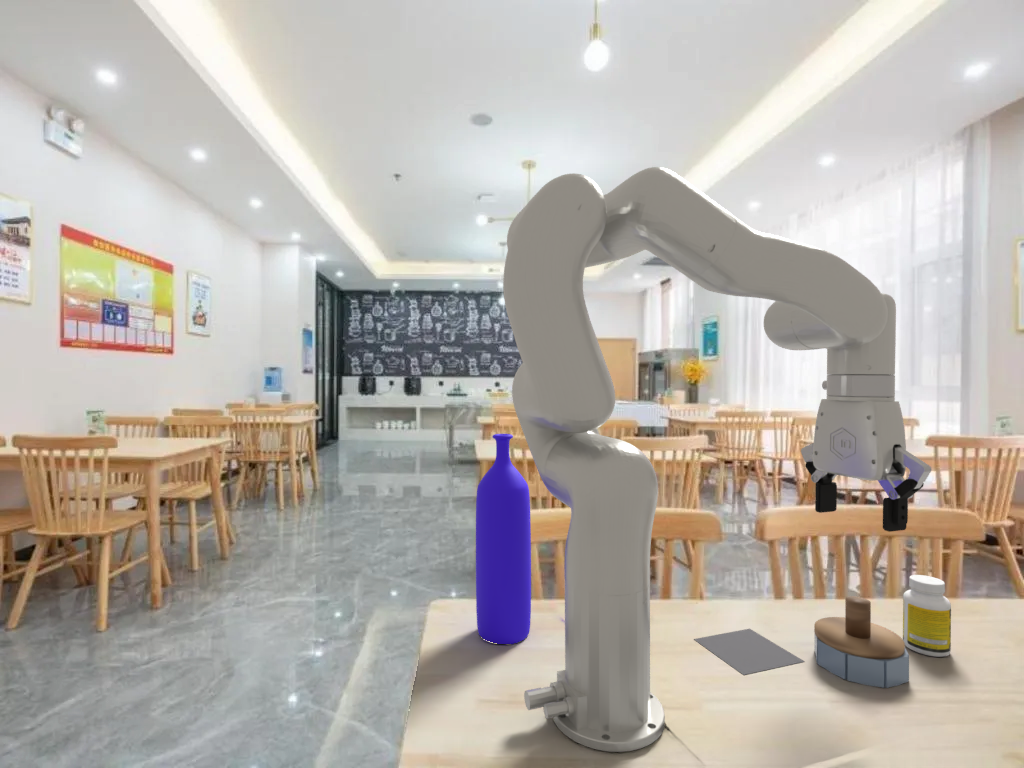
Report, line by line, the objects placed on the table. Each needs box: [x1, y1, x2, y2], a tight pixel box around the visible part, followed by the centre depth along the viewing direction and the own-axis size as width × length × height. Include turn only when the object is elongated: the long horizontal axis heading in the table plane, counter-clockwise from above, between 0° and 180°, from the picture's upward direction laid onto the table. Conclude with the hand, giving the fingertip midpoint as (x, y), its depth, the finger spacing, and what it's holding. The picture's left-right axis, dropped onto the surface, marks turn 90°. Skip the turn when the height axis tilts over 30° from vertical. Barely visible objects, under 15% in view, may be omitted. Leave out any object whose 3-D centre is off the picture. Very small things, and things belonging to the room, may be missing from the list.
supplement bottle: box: [902, 574, 952, 658], centre depth 77 cm, size 5×5×10 cm
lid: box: [813, 595, 906, 659], centre depth 71 cm, size 10×10×5 cm
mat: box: [693, 628, 805, 676], centre depth 75 cm, size 10×10×1 cm
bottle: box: [475, 433, 532, 645], centre depth 82 cm, size 8×8×30 cm
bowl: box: [814, 634, 910, 689], centre depth 71 cm, size 10×10×4 cm
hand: (858, 520), depth 71 cm, fingers open, 9 cm apart
